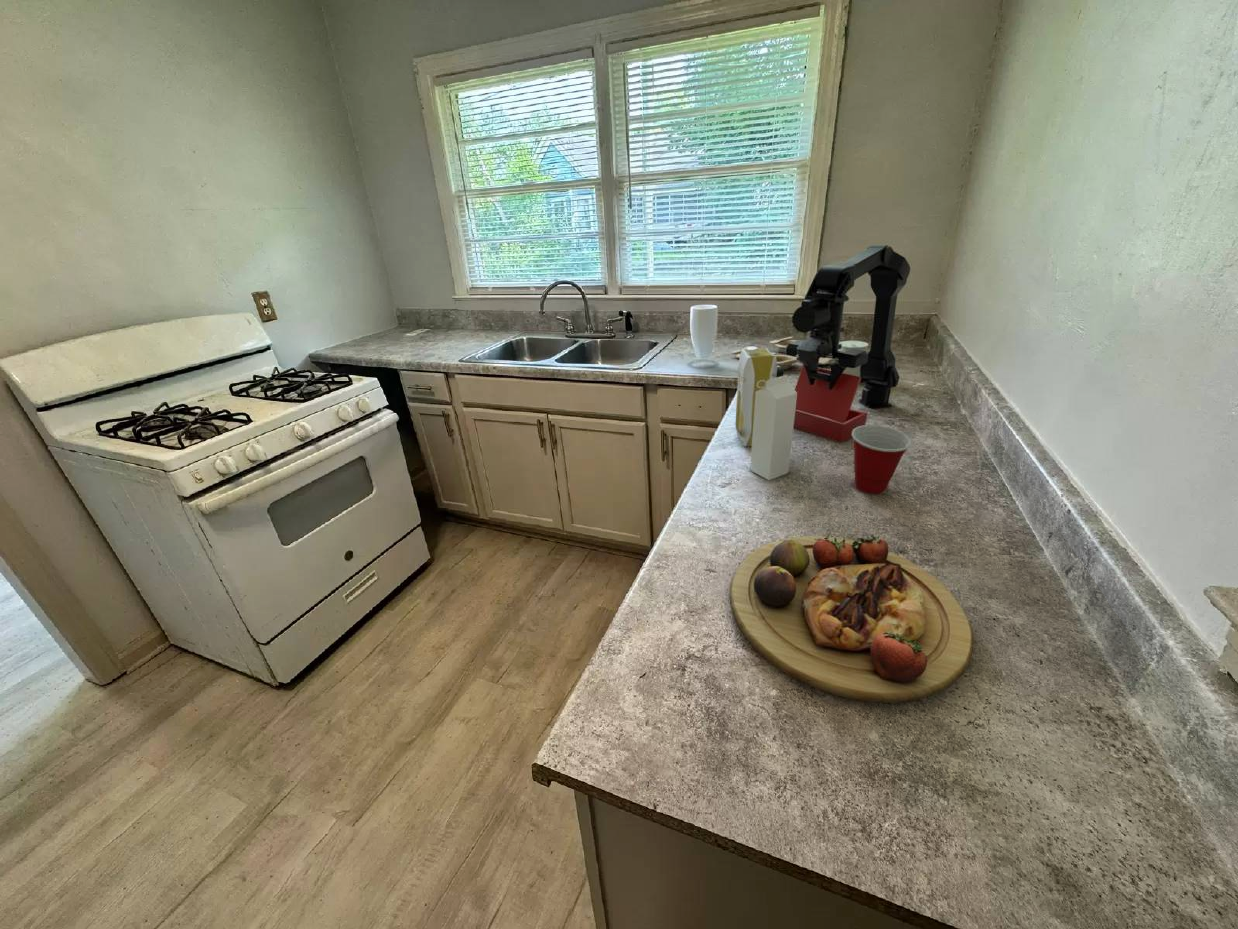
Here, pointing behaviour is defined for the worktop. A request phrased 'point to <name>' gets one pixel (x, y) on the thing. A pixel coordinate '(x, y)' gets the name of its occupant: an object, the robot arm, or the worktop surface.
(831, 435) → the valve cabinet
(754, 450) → the milk
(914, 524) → the worktop surface
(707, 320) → the cup
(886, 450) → the plastic cup
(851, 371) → the can
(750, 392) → the juice carton
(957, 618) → the wooden plate
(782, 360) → the tableware set
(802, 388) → the red box lid
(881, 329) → the robot arm
